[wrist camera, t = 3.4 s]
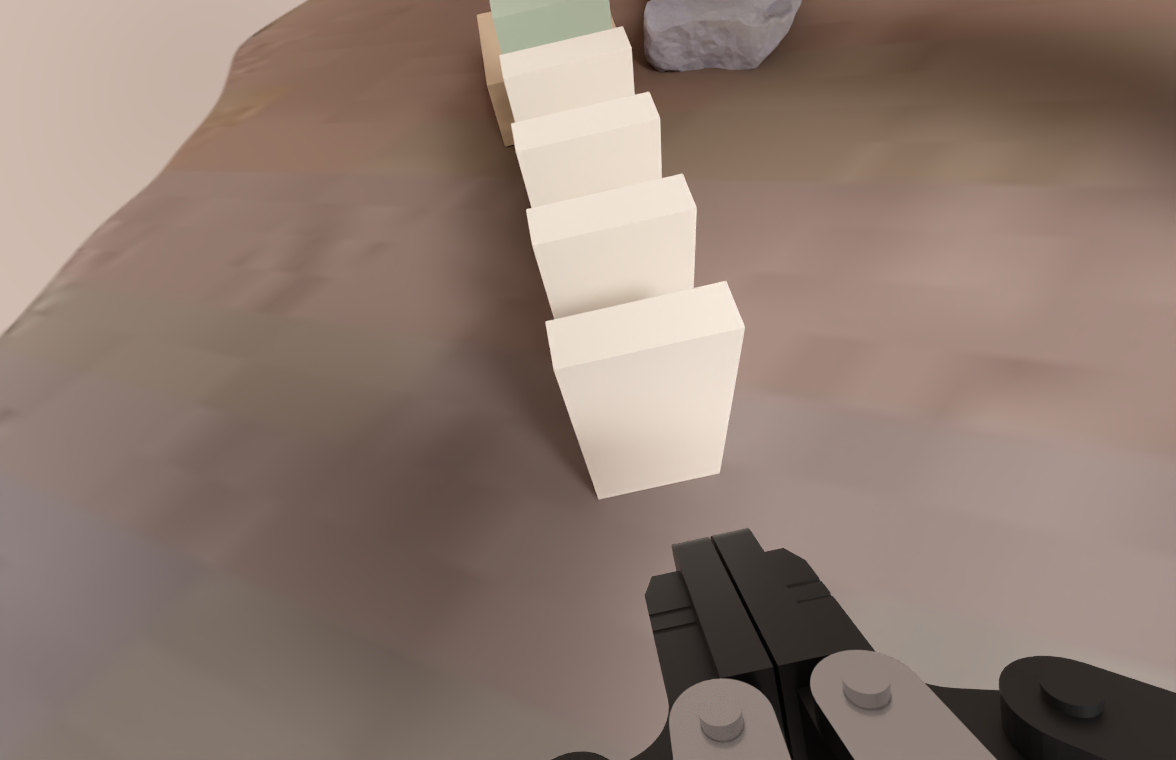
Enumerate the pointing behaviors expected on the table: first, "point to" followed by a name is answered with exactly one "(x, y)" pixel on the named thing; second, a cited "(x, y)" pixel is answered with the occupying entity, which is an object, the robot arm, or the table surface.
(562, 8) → the domino
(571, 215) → the domino
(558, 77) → the domino
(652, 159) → the domino
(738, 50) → the stone block
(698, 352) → the domino
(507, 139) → the stop block
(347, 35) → the table surface
